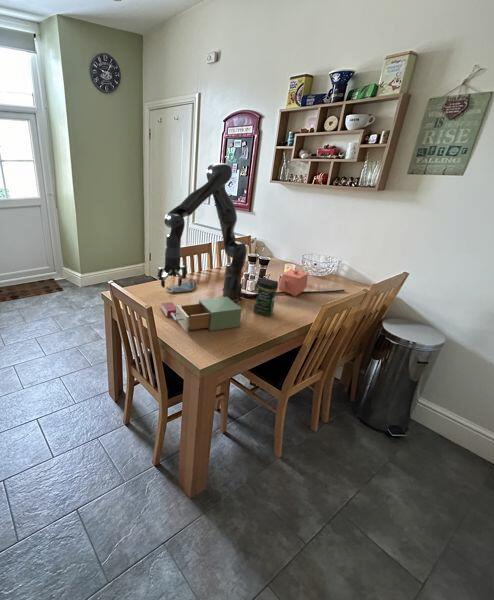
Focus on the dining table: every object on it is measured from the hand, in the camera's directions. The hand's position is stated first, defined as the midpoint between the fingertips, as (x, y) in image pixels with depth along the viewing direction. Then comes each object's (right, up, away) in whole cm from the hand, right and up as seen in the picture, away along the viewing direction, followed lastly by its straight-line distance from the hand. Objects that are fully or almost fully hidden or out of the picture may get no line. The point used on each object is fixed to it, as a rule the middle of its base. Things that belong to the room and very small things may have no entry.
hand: (171, 286), depth 165 cm
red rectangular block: (-1, -13, +6) cm, 15 cm away
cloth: (+9, +1, +37) cm, 38 cm away
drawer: (+9, -18, -7) cm, 22 cm away
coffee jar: (+49, -14, +8) cm, 51 cm away
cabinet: (+23, -18, -3) cm, 29 cm away
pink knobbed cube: (+74, -3, +33) cm, 81 cm away
